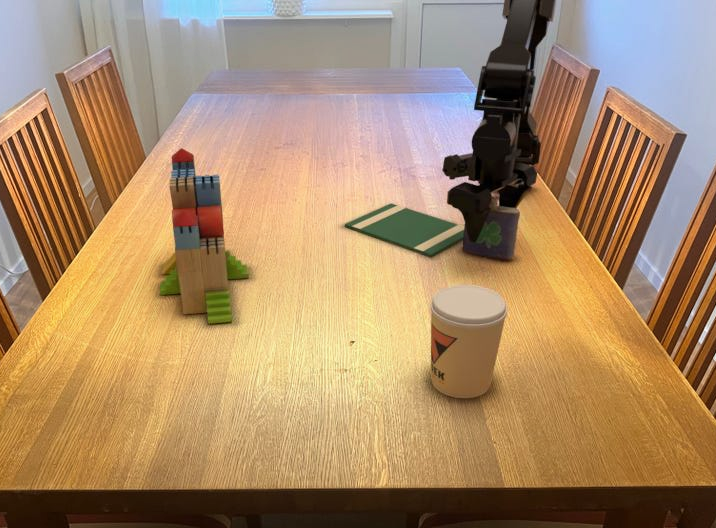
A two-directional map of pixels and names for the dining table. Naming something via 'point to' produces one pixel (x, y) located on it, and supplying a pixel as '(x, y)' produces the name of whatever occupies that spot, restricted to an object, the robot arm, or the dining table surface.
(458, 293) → the coffee cup
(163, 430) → the dining table surface
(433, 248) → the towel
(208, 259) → the block set
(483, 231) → the flask
